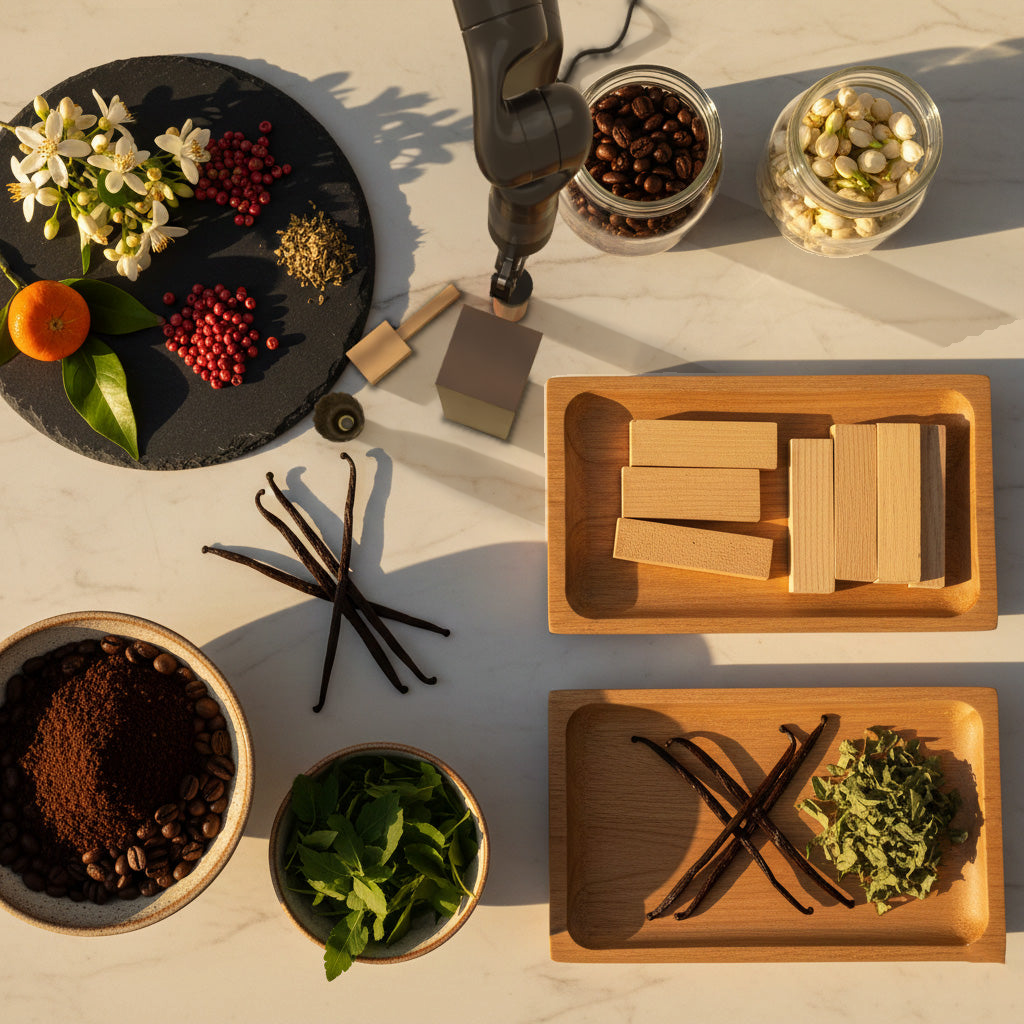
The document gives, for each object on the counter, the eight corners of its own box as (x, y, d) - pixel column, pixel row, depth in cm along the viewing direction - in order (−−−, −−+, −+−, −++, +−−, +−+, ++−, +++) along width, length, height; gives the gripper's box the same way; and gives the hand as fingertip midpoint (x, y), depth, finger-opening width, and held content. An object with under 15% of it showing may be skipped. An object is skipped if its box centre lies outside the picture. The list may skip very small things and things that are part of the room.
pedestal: (467, 358, 125) (463, 303, 94) (527, 380, 125) (543, 333, 94) (445, 418, 124) (434, 383, 94) (505, 440, 125) (515, 412, 94)
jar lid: (524, 313, 116) (525, 310, 114) (487, 299, 116) (487, 296, 114) (537, 276, 116) (538, 273, 114) (500, 263, 116) (500, 259, 114)
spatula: (468, 305, 125) (468, 302, 123) (372, 385, 124) (371, 383, 122) (443, 276, 125) (443, 272, 123) (347, 356, 124) (345, 353, 122)
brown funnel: (365, 452, 124) (357, 447, 116) (318, 442, 124) (307, 436, 116) (375, 405, 124) (368, 396, 116) (328, 395, 124) (318, 386, 116)
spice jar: (489, 294, 125) (490, 273, 115) (521, 285, 125) (525, 264, 115) (498, 326, 125) (500, 308, 115) (530, 317, 125) (535, 298, 115)
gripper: (511, 136, 87) (506, 197, 103) (468, 259, 87) (470, 300, 103) (576, 159, 87) (560, 216, 103) (533, 282, 87) (525, 320, 103)
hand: (515, 258), depth 103 cm, fingers open, 8 cm apart
